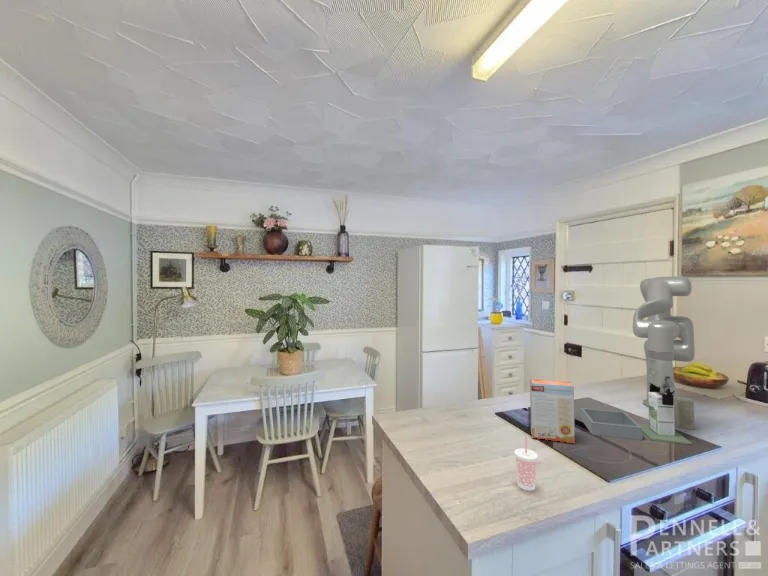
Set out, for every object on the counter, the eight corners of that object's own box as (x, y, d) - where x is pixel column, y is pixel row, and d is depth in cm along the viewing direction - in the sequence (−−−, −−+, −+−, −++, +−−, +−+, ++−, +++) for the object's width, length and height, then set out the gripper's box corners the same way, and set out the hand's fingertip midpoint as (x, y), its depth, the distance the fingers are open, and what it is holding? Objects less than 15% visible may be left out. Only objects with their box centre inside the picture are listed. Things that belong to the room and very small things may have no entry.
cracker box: (571, 437, 120) (570, 381, 120) (575, 444, 114) (574, 385, 114) (530, 432, 124) (529, 378, 124) (531, 439, 119) (531, 382, 119)
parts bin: (580, 418, 137) (580, 407, 137) (624, 422, 132) (624, 411, 132) (591, 434, 122) (591, 422, 122) (642, 440, 117) (642, 427, 117)
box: (690, 425, 129) (690, 398, 129) (695, 429, 125) (694, 401, 125) (673, 423, 132) (673, 396, 132) (677, 427, 128) (677, 399, 128)
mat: (634, 424, 130) (634, 423, 130) (671, 428, 127) (671, 427, 127) (651, 440, 117) (651, 438, 117) (692, 445, 113) (692, 443, 113)
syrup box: (675, 436, 118) (675, 397, 119) (657, 435, 120) (656, 396, 120) (665, 430, 124) (665, 392, 124) (648, 428, 125) (647, 391, 125)
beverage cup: (513, 477, 94) (513, 429, 94) (536, 481, 93) (536, 432, 93) (515, 490, 88) (515, 439, 89) (540, 494, 87) (539, 442, 87)
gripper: (638, 350, 131) (639, 392, 132) (660, 360, 115) (660, 407, 115) (661, 351, 129) (661, 393, 129) (686, 361, 113) (686, 410, 113)
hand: (661, 400), depth 122 cm, fingers open, 9 cm apart
